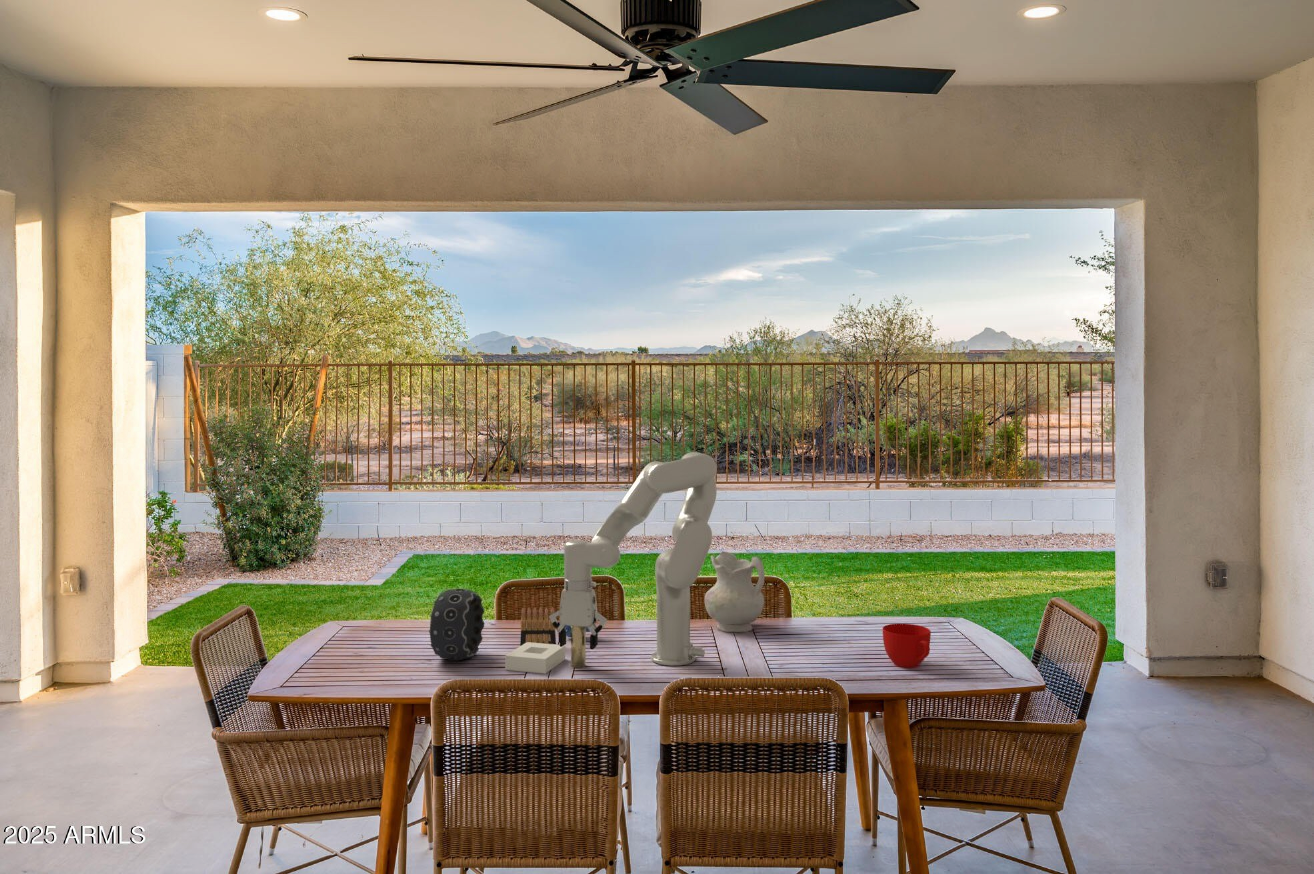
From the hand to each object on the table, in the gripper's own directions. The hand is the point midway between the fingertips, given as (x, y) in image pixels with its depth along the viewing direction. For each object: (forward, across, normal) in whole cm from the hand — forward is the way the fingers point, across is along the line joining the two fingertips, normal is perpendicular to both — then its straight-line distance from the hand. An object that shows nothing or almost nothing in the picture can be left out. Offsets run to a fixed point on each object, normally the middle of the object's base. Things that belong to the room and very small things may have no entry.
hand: (578, 646), depth 239 cm
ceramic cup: (+5, -89, -25) cm, 93 cm away
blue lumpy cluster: (+6, +11, -28) cm, 31 cm away
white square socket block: (+6, +12, +2) cm, 13 cm away
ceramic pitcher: (+5, -35, -52) cm, 63 cm away
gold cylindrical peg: (+6, 0, 0) cm, 6 cm away
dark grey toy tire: (+6, +36, +3) cm, 36 cm away
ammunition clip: (+6, +19, -15) cm, 25 cm away
